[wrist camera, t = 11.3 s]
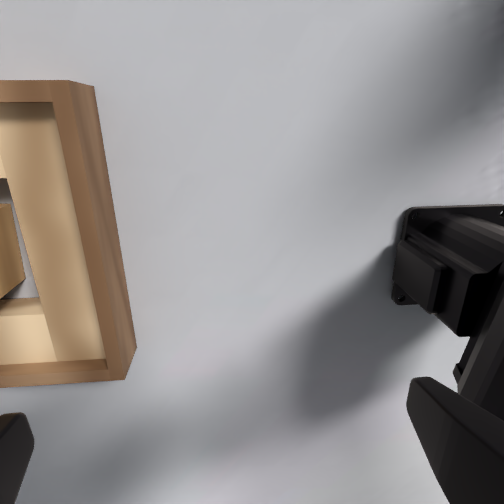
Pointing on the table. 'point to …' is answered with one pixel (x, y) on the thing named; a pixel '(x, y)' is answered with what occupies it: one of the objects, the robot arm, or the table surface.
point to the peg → (9, 252)
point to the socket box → (62, 240)
